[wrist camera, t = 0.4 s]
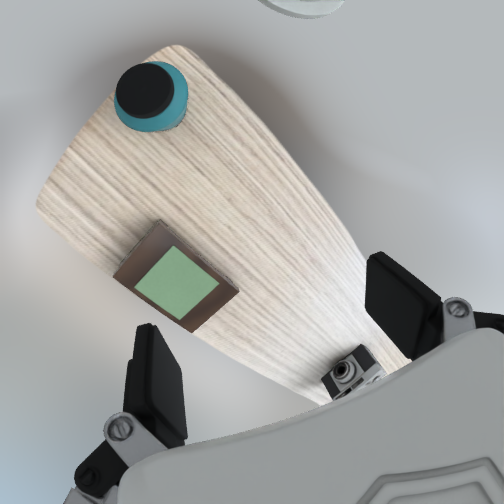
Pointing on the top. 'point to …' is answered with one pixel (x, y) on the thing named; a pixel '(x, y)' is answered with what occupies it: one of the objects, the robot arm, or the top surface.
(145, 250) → the shelf
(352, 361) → the camera
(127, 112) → the beverage bottle
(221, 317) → the top surface
